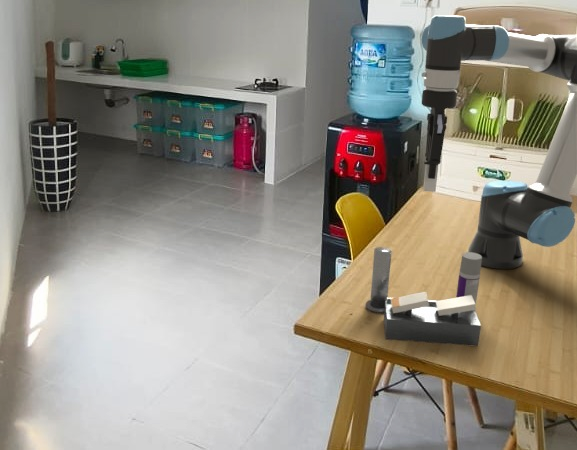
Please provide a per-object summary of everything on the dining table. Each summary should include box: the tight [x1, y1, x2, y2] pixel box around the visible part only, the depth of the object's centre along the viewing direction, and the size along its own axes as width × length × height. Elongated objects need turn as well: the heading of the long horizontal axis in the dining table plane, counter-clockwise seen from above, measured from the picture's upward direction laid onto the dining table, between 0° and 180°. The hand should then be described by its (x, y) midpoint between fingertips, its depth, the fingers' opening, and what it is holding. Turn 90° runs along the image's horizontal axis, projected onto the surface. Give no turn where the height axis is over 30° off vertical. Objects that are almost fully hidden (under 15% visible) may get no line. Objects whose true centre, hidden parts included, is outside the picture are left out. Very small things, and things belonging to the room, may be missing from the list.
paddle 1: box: [390, 291, 429, 313], centre depth 141 cm, size 8×4×2 cm, turn 84°
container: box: [455, 251, 482, 306], centre depth 150 cm, size 5×5×15 cm
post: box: [365, 246, 393, 315], centre depth 152 cm, size 6×6×15 cm
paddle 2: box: [435, 295, 477, 316], centre depth 141 cm, size 8×4×1 cm, turn 84°
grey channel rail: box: [383, 297, 482, 347], centre depth 143 cm, size 20×9×6 cm, turn 85°
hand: (429, 190), depth 149 cm, fingers closed
